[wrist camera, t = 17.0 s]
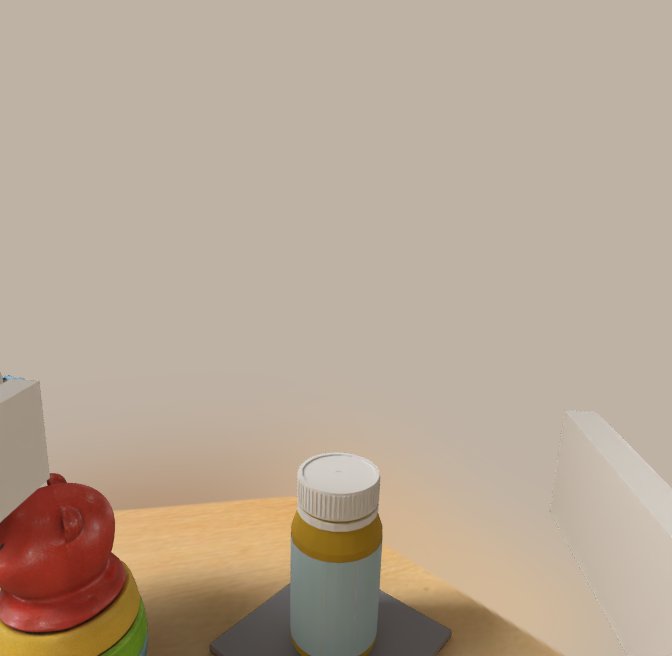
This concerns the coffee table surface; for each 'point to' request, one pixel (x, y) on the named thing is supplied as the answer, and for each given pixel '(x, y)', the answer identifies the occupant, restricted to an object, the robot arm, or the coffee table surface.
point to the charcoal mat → (279, 652)
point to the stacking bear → (66, 578)
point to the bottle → (335, 556)
